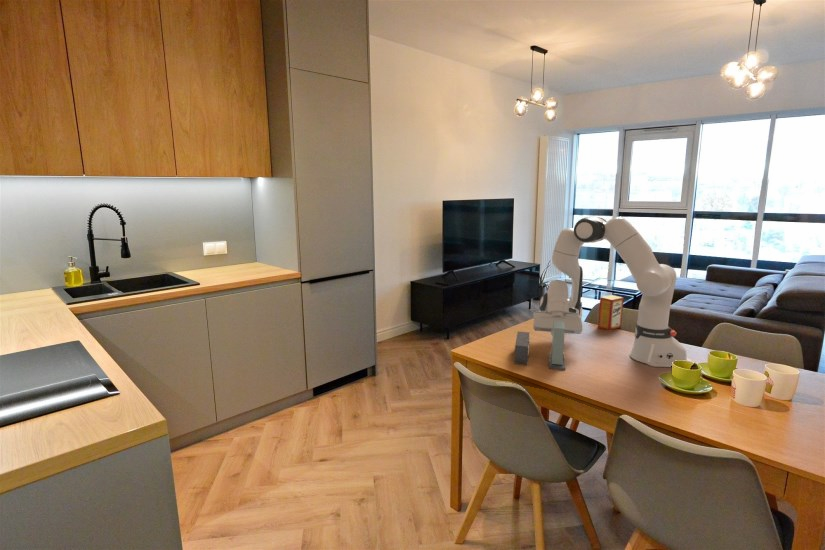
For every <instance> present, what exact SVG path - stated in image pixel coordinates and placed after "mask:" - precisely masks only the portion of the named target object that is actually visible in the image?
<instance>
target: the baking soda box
mask: <svg viewBox="0 0 825 550" xmlns="http://www.w3.org/2000/svg"><path fill="white" fill-rule="evenodd" d="M623 308H624V297H622V296H620V295H619V296H618V295H616V294H615V295H614V294H610V295H603V296H601V297H599V307H598V309H599V310H598V322H597V323H598V324H597V328H599V329H603V330H606V331H613V330H615V329H620V328H622V319H623V311H624V310H623Z"/></svg>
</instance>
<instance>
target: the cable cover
mask: <svg viewBox="0 0 825 550" xmlns="http://www.w3.org/2000/svg"><path fill="white" fill-rule="evenodd" d="M565 334H566V333H565V327H564V322H561V321H553V336H552V343H551V354H552V364H558V365H562V364H563V355H564V346H565Z"/></svg>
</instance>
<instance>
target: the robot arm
mask: <svg viewBox="0 0 825 550" xmlns="http://www.w3.org/2000/svg"><path fill="white" fill-rule="evenodd" d="M556 239H557V240H556V242H555V245H554V248H553V250H552V251H553V252H552V257H551V261H552V264H553V266H554V267H555V268H556V269H557V270H558V271H559V272H561V273H562V274H565V275H566V276H567V277H569V278H570V280H571V289H570V297H569V289H568V288H569V287H568V283H567V282H566V281H564V280H560V279H553V280H550V282H549V284H548V289H547V292H545V293H544V294H542V295H541V296H540V298H539V308H538V309H539V310H536V311H534V312H533V313H532V318H533V325H532V326H533V327H532V329H533V330H534V331H535V332H549V333H550V335H551V336H552V337H553V321H561V322H564V327H565V333H564V334H572V335H573V334H574V335H581V334H582V332H583V322H582V320H581V317H580V316H579V315H580V311H581V302H582V301H581V300H582V292H583V291H582V288H583V278H584V277H583V275H584V273H583V267H582V266H581V265H580V263H579V257H580V253H581V249H582V246H583V245H584V244H585V243H586V244H588V243H596V242H600V241H603V240H606V241H608V242H609V243H610V245H611V246H612V248H613V249H614V250H615V251H616V253H617V254H618V255H619V256H620V258H621V259H622V260H623V262H624V263H625V264H626V266H627V268H628V270H629V272H630V274H631V276H632V278H633V280H634V281H635V283H636V287H637V290H638V291H639V292H640V293H641V295H642V296H641V298H640V301H639V305H638V313H637V322H636V324H635V329H634V337H635V338H634V341H633V342H634V343H633V346H632V348H631V351H630V354H629V357H630V358H632V359H633V360H635V361H636V362H637V361H638V362H641V363H644V364H646V365H648V366H651V367H653V368H654V367H655V368H658V367H659V368H672V367H671V366H672V362H673V361H675V360H686V361H692V359H691V358H690V357H689V356H687V355H688V354H687V350H686V348H685V346H684V345H683V344H682V343H680V342H679V340H677V339H676V338H675V337H676V336H677V332H676V331H675V329H672V328H671V327H670V326H669V318H670V311H671V310H670V309H671V307H672V306H671V305H672V301H673V297H674V292H675V288H676V281H677V273H676V270H675V268H673V267H672V266H670V265H668V264H664V263H659V261H658V260H657V258H656V256H655V254H654V252H653V249H652V247H651V246H650V245H649V243H648V242H647V241H646V240H645V239H644V238H643V236H642V235H641V233H640V232H639V231H638V230H637V229H636V227H634V226H633V224H631V223H630V222H629V221H628V220H627V219H626V218H624V217H622V216H616V217H613V218H610V219H609V220H606V219H605V218H602V217H597V216H588V217H587V216H585V217H583V218H580V219H579V220H578V221H577V222H576V223H575V224H574V228H573V227H567V228H566V227H565V228H563V229H561V231H560V232H559V235H558V237H557V238H556Z"/></svg>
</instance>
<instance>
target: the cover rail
mask: <svg viewBox="0 0 825 550" xmlns="http://www.w3.org/2000/svg"><path fill="white" fill-rule="evenodd" d="M565 361H566V360H565V356H564V354H563V364H562V365H558V364H552V353H548V369H550V370H559V371H566V362H565Z"/></svg>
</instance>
